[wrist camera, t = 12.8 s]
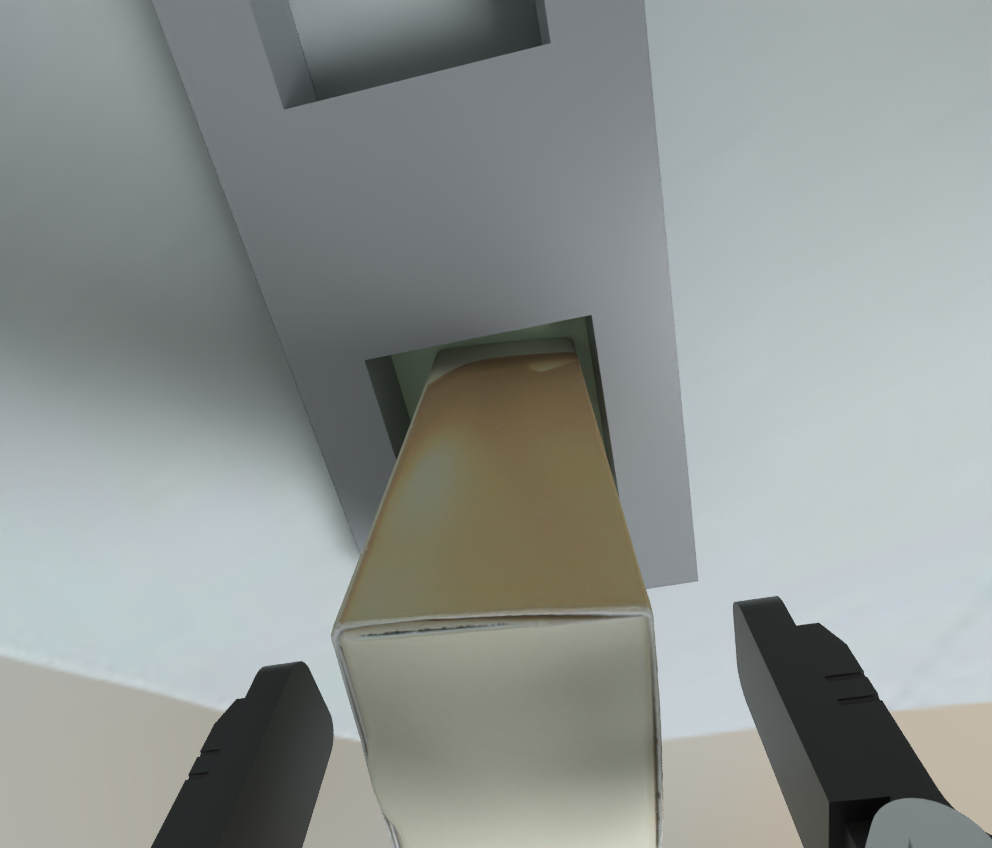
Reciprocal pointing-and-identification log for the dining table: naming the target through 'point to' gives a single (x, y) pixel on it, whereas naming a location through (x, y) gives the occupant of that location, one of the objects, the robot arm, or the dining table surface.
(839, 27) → the dining table surface
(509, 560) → the skincare box
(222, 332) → the dining table surface
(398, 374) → the panel
